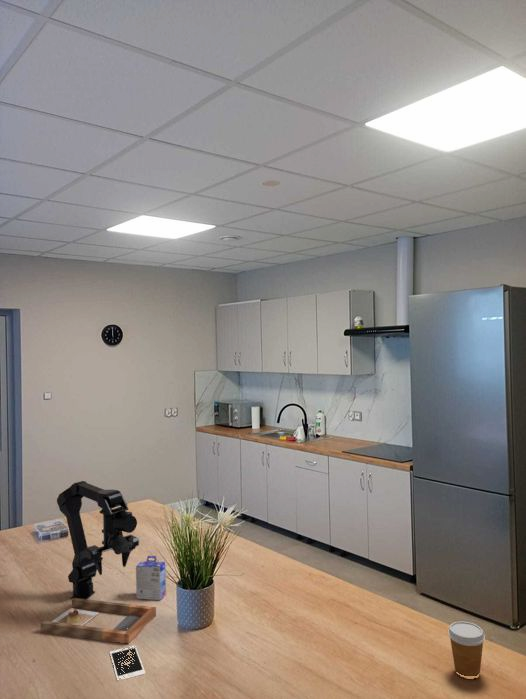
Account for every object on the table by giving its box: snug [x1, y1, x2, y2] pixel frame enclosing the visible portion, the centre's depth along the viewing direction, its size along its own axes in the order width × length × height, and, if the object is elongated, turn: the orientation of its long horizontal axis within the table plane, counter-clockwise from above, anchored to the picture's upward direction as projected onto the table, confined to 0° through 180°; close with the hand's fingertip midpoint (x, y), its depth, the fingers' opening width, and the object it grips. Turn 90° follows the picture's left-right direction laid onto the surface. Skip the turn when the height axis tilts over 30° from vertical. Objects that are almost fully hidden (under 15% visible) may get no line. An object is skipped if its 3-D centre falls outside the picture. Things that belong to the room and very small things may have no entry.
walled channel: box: [40, 598, 157, 645], centre depth 181 cm, size 32×18×3 cm, turn 74°
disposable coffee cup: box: [447, 621, 486, 676], centre depth 148 cm, size 10×10×12 cm
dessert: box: [51, 607, 99, 626], centre depth 184 cm, size 12×12×5 cm
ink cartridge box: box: [135, 555, 167, 601], centre depth 200 cm, size 10×6×14 cm, turn 78°
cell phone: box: [109, 645, 146, 681], centre depth 158 cm, size 8×16×1 cm, turn 23°
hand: (112, 570), depth 192 cm, fingers open, 9 cm apart
